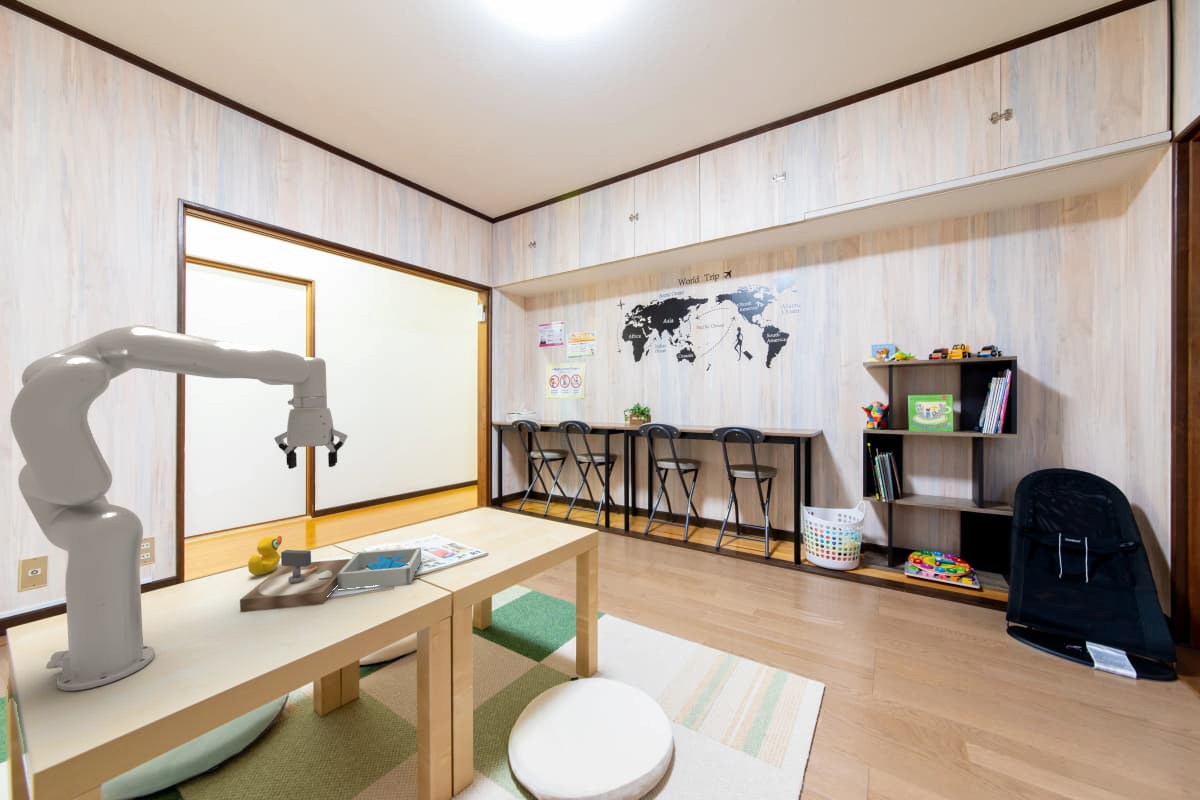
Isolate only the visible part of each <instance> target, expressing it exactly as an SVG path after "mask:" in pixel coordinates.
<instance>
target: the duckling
mask: <svg viewBox="0 0 1200 800" xmlns="http://www.w3.org/2000/svg"><path fill="white" fill-rule="evenodd" d="M282 540H283V537H282V536H281V535H278V536H277V537H275V536H266V537H264V538H261V539H260V541H259V542H258V544H257V547H256V550H257V551H256V552H257V553H258V554H254V555H252V556H251V557H249V559H248V567H247V568H248V572H249V573H250V574H252V575H254V576H262V575H266V574H268V573H270V572H272V571H274V570H275V569H276V568H277V567H278V565H279V562H281V561H280V560H281V554H280V553H279V552H278V551H277V550H278V549H279V546H281V544H282ZM259 554H260V555H261V556H260V555H259Z"/></svg>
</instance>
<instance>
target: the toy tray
mask: <svg viewBox="0 0 1200 800" xmlns="http://www.w3.org/2000/svg"><path fill="white" fill-rule="evenodd" d="M401 555H403V557H401V558H400V559H398V560H396V561H395V562H403V563H408V562H409V564H407V565H406V566H402V567H400V568H389V569H377V570H371V569H369V568H368V567H366V566H367V564H370V563H376V562H381V561H380V560H379V558H378V556H383V557H384V559H386V558H388V559H389V558H392V559H393V558H395V557H396V556H401ZM350 559H351V560H350V561H349V562H348V563H347V564H346V565H345V566H344V567H343V568H342V570H341V571H340V572H339V573H338V574H337V583H338V587H337V590H338V589H347V588H356V587H364V586H373V585H374V586H375V585H380V586H387V587H398V586H406V585H408V586H409V585H411V584H412V581H413V579H414V577H415V576H414V574H415V571H416V569H417V567H418V565H419V564H420V565H421V563H422V548H421V547H420V546H419V547H410V548H407V547H406V548H396V549H395V548H394V549H385V550H372V551H358V552H356V553H355V554H354V555H353V556H352V557H351V558H350ZM420 562H421V563H420ZM360 569H367V570H360ZM415 575H416V574H415Z"/></svg>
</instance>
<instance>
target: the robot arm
mask: <svg viewBox="0 0 1200 800" xmlns="http://www.w3.org/2000/svg"><path fill="white" fill-rule="evenodd" d="M133 369H140V370H141V369H143V370H151V371H158V372H165V373H172V374H174V373H175V374H180V375H189V376H194V377H203V378H212V379H249V380H258V381H259V382H261V383H263V384H266V385H269V386H287V385H289V386H292V392H293V393H292V395H293V397H292V398H291V399H287V404H288V405H291V406H292V408H293V409H292V408H291V409H290V410H289V413H288V419H287V429H286V431H284V432H283V433H281V434H279V435H277V436H275V437H274V441H275V443H276V445H277V446H278V448H279V449H280V450H281V451H283V453H284V454H285V455H286V466H288V470H289V469H290V470H292V469H294V468H296V467H297V464H298V463H297V453H296V451H295V450H296V449H297V448H300V447H302V448H305V447H308V448H309V447H324V446H325V447H326V448H327V449H328V450H329V452H328V454H327V459H328V468H333V467H335V466H336V464H337V463H338V451H339V450H340V449H341V448H342V447H343V446H344V444H345V442H346V440H347V439H348V435H347V434H346V433H344V432H341V431H339V430H336V429H335V428H334V422H333V421H334V420H333V415H332V411H331V409H330V408H329V407H328V402H327V401H328V399H327V398H328V397H327V396H328V394H327V365H326V361H325V360H324V359H323V358H321V357H316V356H315V357H313V356H311V357H308V356H302V355H299V354H296V353H292V352H288V351H287V352H286V351H282V350H277V349H273V348H272V349H271V348H266V347H259V346H253V345H247V344H239V343H234V342H229V341H224V340H223V341H221V340H216V339H212V338H211V339H210V338H205V337H200V336H195V335H190V334H185V333H180V332H175V331H171V330H166V329H165V330H164V329H160V328H154V327H150V326H144V325H143V326H141V325H140V326H139V325H132V326H131V325H130V326H124V327H116V328H113V329H109V330H105V331H103V332H101V333H99V334H97V335H95V336H91V337H90V338H87V339H86V340H83V341H80V342H78V343H76V344H73V345H70V346H68V347H65V348H63V349H60V350H57V351H55V352H53V353H50V354H47V355H46V356H43V357H41V358H38V359H36V360H34V361H32V362H30V364H29V365H27V366H26V368H25V369H23V372H22V375H21V383H22V385H23V387H22V388H21V390H20V391H19V392H18V394H17V396H16V397H15V399H14V402H13V404H12V408H11V410H10V426H11V429H12V430H11V431H12V433H13V435H14V436H13V437H14V438H15V441H16V443H17V445H18V447H19V449H20V451H21V454H22V457H23V459H24V460H25V462H26V464H25V465H24V466H23V467H22V468H21V470H20V472H19V473H18V479H17V480H18V482H17V483H18V488H19V490H20V493H21V495H22V497H23V499H24V500H25V503H26V504H27V506H28V508H29V510H30V512H31V513H32V515H33V518H34V519H35V521H36V523H37V524H38V526H39V527H40V530H41V532H42V533H43V534H44V536H45V537H46V539H47V540H48V541H49V542H50V544H52V545H53V546H55V547H57V548H59V549H61V550H64V551H66V552H67V556H68V557H67V566H66V570H65V571H66V573H65V601H66V602H65V605H66V616H67V617H66V621H67V643H68V650H63V651H62V650H61V651H55V652H54V653H53V654H52V655H51V657H50V659H49V661H48V662H47V663H46V669H47V670H50V669H58V668H61V669H62V673H61V674H60V675H58V676H57V679H56V687H57V689H59V690H61V691H69V692H70V691H72V692H73V691H81V690H83V691H84V690H88V689H93V688H96V687H99V686H100V687H101V686H104V685H106V684H110V683H113V682H115V681H118V680H121V679H123V678H126V677H128V676H130V675H131V674H134V673H135V672H138V671H139V670H141V669H142V668H144V667H145V666H147V665H148V664H149V663H150V662H151V661H152V660H153V659H154V657H155V655H156V654H155V648H154V647H152V646H151V645H145V644H144V635H143V634H144V633H143V612H142V611H143V610H142V590H141V589H142V588H141V587H142V586H141V571H140V570H141V566H140V565H141V563H140V562H141V551H142V544H143V539H144V536H143V535H144V527H143V523H142V522H141V519H140V518H139V516H138V515H137V514H136V513H135V512H133V511H131V510H130V509H128V508H126V507H123V506H119V505H114V504H111V503H109V502H108V500H107V497H106V496H105V495H106V494H107V493H108V491H110V488H111V486H112V483H113V475H112V472H111V470H110V467H109V466H108V464H107V462H106V460H105V458H104V457H103V455H102V453H101V450H100V448H99V446H98V443H97V442H96V440H95V437H94V436H93V433H92V431H91V428H90V425H89V421H88V414H89V413H88V412H89V409H90V407H91V405H92V404H93V402H95V400H96V399H97V398H99V397H100V396H101V395H103V394H104V393H105V392H106V390H107V389H108V388H109V386H110V383H111V380H113V379H115V378H117V377H119V376H121V375H123V374H125V373H127V372H129V371H131V370H133ZM335 437H338V438H339V440H338V442H337V443H335V442H334V441H335ZM285 439H286V442H285V441H284V440H285Z"/></svg>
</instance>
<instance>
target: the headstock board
mask: <svg viewBox="0 0 1200 800" xmlns="http://www.w3.org/2000/svg"><path fill="white" fill-rule="evenodd" d="M350 560H351V558H346V559H335V560H334V559H333V560H321V561H319V560H318V561H311V564H310V565H308V566H307V567H301V574H303V573H305V572H307V571H309V570H311V569H313V568H314V567H318V569H317V570H315V571H313V572H311V573H309V574H307V575H305V579H304V580H303V581H300V582H297V583H289V582H288V578H289V577H291V576H293V574H292V566H282V565H281V566H280V567H279V568H277V570H275V571H274V572H273V573H271V574H270V575H269V576H267V577H266V578H264V579H263V581H261V582H260V583H259V584H257V585H256V586H255V587H254V588H253V589H251V590H250V591H249V592H248V593H246V594H245V595H244V596H242V597H241V598H240V599H239V609H240V610H239V611H240V613H242V612H253V611H263V610H265V611H266V610H274V609H285V607H286V608H294V607H295V608H296V607H305V606H315V605H316V606H317V605H323V604H324V603H325V602H326V601H327V600H328V599H327V596H328V595H329V594H330V593H331V592H332V590H333V589H334V588H335V587H336V586H337V585H338V583H337V574H338V573H339V572H340V571H341V570H342V568H343V567H344V566H345V565H346V564H347V563H348V562H349V561H350Z"/></svg>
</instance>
